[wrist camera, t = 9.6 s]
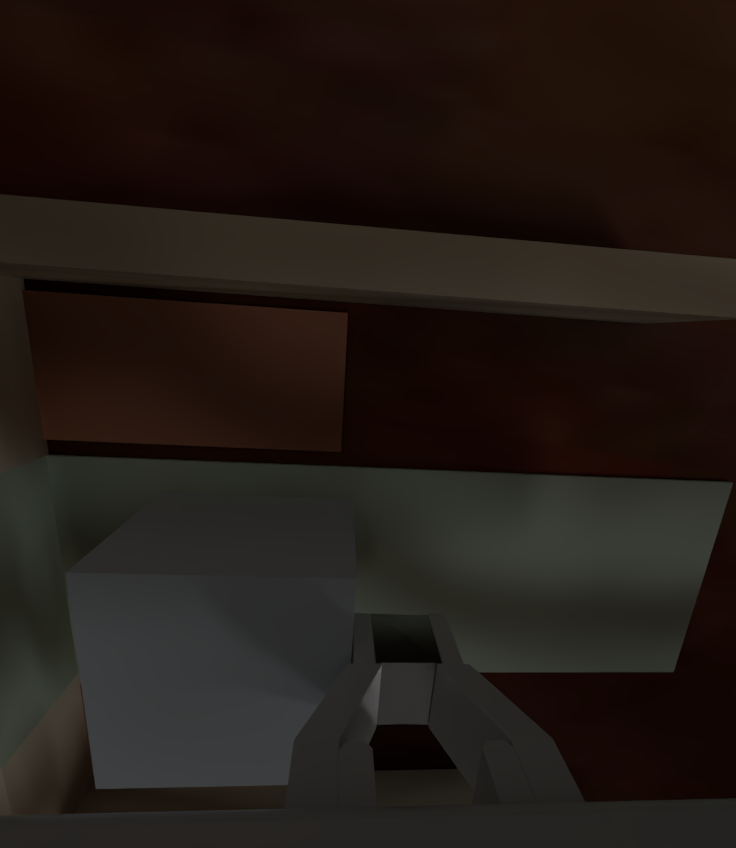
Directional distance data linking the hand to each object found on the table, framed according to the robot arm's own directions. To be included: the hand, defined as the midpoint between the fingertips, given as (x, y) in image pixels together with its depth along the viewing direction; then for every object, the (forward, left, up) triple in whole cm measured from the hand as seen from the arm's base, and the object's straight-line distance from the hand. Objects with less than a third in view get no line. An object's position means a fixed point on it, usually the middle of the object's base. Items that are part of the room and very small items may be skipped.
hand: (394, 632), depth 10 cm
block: (0, +4, -2) cm, 5 cm away
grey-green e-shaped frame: (0, 0, -3) cm, 3 cm away
